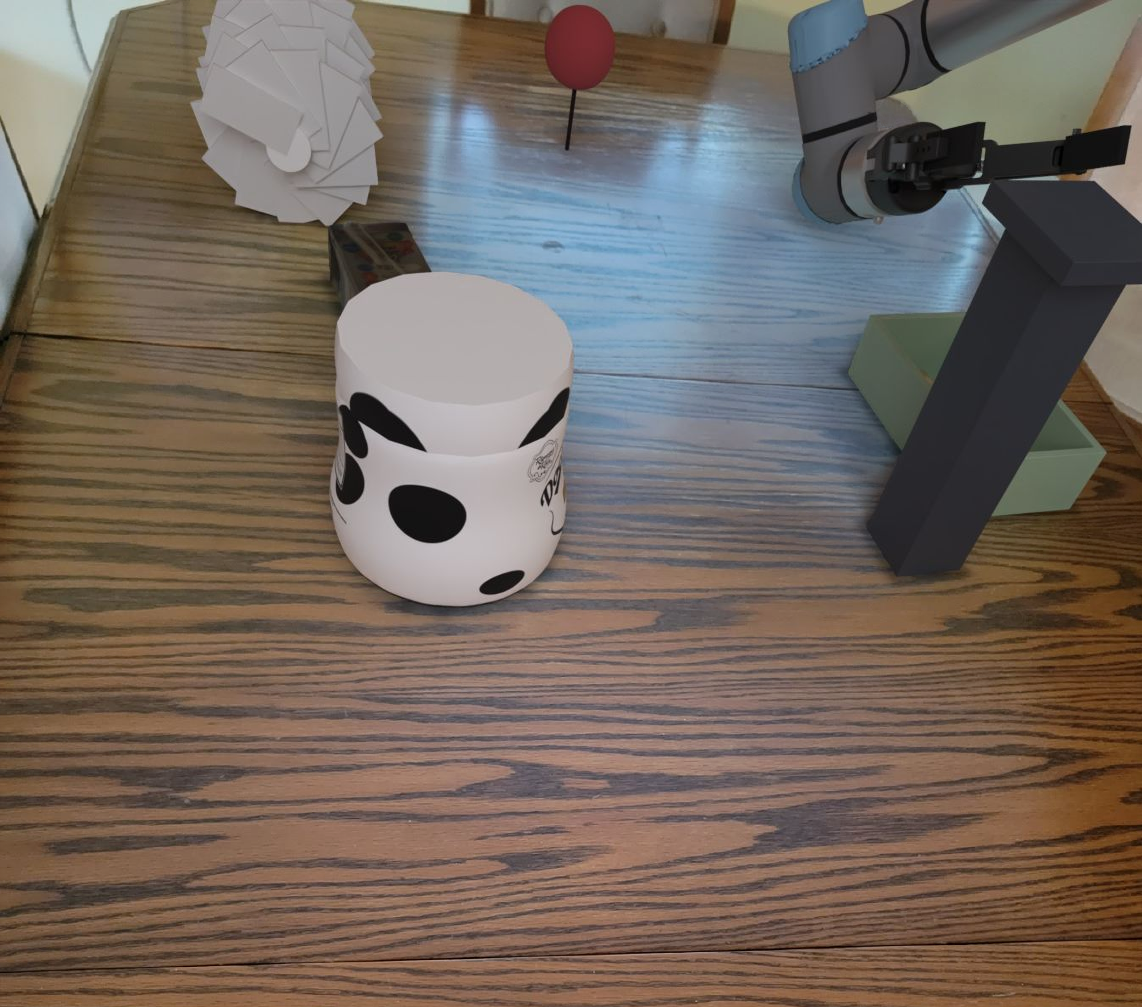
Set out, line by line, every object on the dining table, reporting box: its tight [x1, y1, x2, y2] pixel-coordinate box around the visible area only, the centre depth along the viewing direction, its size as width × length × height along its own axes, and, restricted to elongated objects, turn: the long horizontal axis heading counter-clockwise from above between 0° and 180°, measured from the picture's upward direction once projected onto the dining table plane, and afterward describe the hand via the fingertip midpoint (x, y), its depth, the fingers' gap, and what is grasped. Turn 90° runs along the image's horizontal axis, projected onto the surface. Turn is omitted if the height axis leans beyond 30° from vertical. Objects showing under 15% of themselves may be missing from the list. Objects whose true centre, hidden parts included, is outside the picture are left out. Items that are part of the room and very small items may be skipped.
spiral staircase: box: [189, 0, 384, 227], centre depth 103 cm, size 18×18×25 cm
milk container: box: [328, 270, 575, 609], centre depth 72 cm, size 17×17×18 cm
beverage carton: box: [327, 220, 433, 311], centre depth 93 cm, size 8×19×7 cm, turn 20°
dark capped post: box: [865, 179, 1142, 578], centre depth 75 cm, size 10×8×28 cm
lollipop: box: [543, 4, 616, 151], centre depth 116 cm, size 8×8×15 cm
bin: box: [847, 311, 1107, 517], centre depth 94 cm, size 22×13×7 cm, turn 15°
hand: (1053, 143), depth 80 cm, fingers open, 13 cm apart
